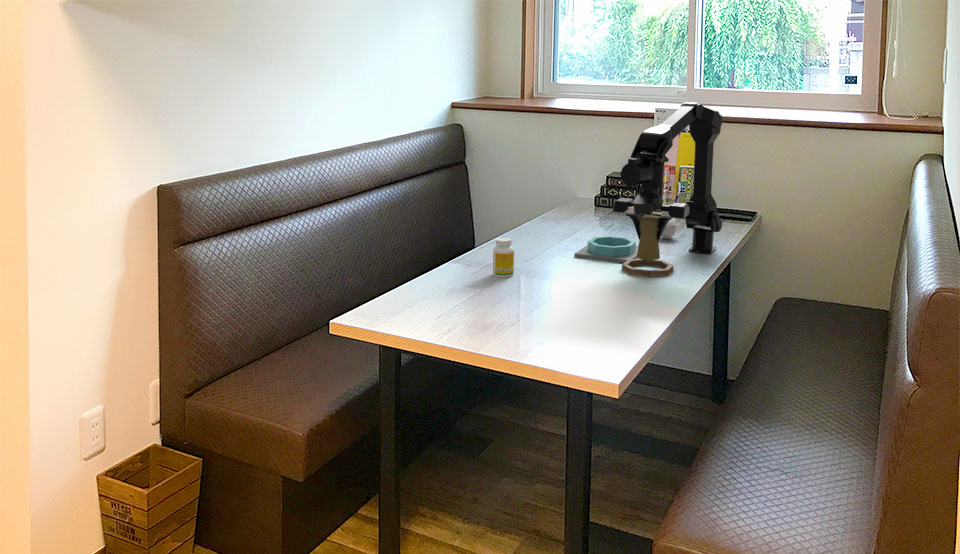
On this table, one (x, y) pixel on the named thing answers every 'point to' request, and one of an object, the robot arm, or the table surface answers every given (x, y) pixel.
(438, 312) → the table surface
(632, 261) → the walnut ring
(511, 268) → the supplement bottle
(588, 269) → the table surface
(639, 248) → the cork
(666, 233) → the frog figurine
